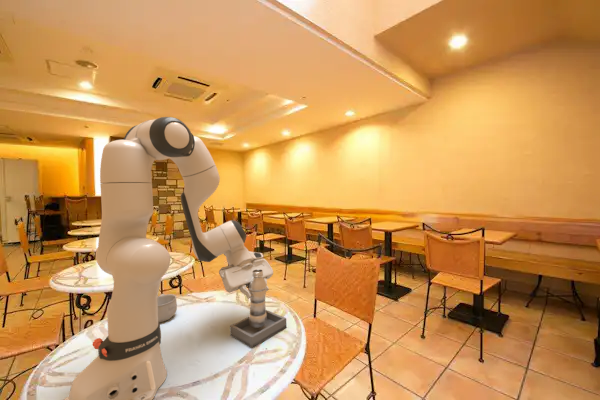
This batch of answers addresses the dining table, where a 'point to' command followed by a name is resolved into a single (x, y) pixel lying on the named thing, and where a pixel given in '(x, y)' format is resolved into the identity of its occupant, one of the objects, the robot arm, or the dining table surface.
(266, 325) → the tray
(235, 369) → the dining table surface
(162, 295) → the teacup
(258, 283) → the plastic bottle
